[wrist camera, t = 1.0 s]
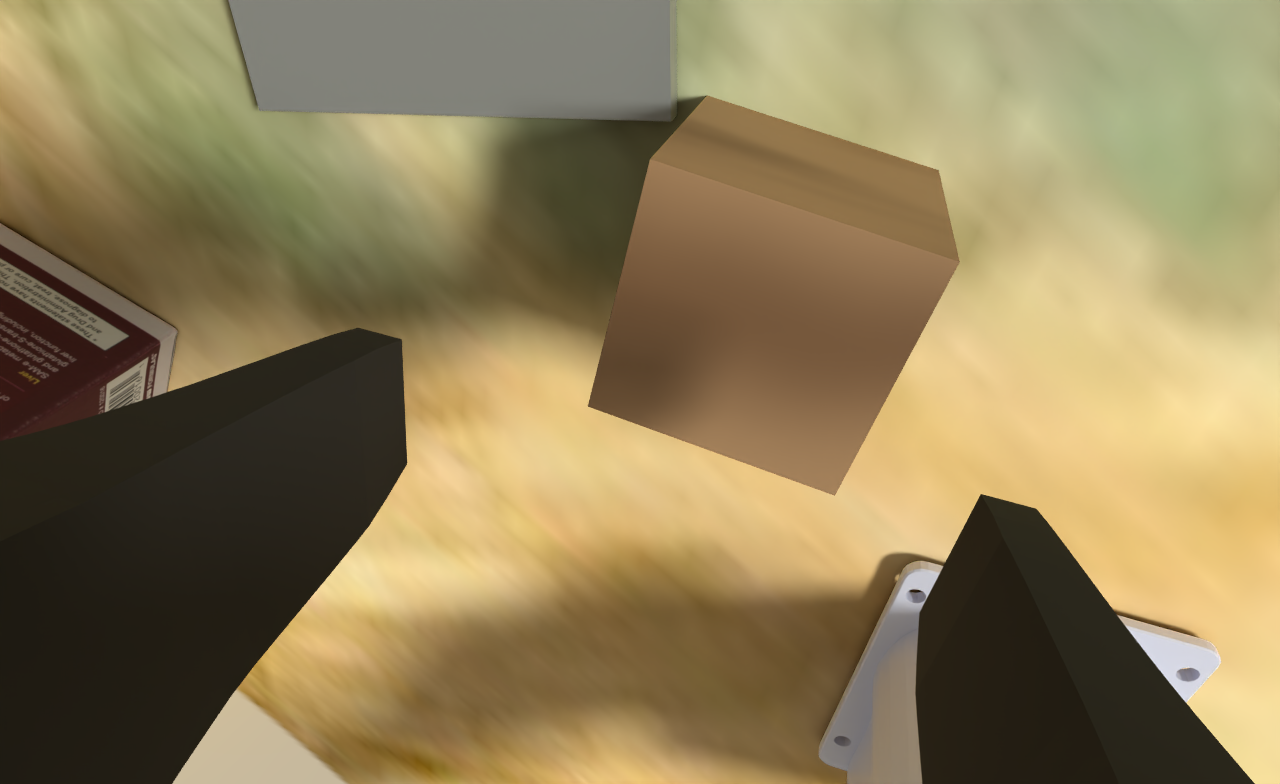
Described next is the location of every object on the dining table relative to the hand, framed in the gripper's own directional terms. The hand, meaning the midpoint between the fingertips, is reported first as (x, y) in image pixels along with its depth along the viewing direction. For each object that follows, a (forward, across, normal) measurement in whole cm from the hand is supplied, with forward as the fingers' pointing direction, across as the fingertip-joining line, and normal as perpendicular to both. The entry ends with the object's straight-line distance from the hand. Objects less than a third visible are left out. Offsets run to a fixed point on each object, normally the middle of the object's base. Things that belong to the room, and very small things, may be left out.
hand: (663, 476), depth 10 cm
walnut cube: (+9, -1, 0) cm, 9 cm away
